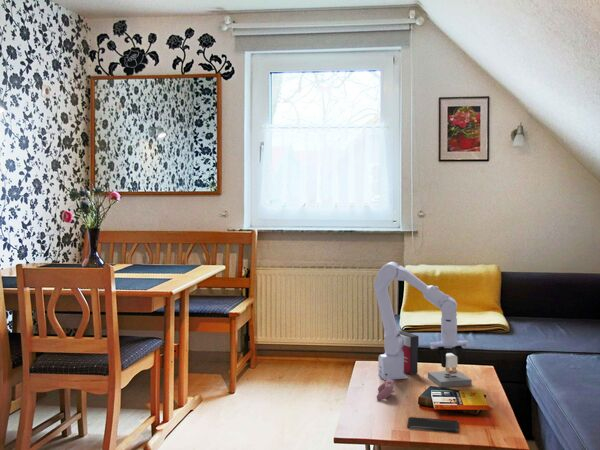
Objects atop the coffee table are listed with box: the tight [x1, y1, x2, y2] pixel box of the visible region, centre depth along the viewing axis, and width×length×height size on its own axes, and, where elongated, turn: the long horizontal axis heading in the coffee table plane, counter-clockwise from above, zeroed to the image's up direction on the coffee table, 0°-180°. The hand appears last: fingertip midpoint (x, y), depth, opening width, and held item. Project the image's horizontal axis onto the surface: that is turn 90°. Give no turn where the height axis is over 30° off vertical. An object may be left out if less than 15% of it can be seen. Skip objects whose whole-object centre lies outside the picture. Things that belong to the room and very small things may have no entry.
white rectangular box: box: [445, 352, 458, 372], centre depth 217 cm, size 4×5×6 cm
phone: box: [406, 416, 460, 434], centre depth 175 cm, size 8×1×15 cm
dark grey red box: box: [399, 330, 420, 376], centre depth 231 cm, size 11×4×15 cm, turn 25°
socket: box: [427, 368, 472, 388], centre depth 217 cm, size 12×12×3 cm
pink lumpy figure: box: [376, 379, 395, 401], centre depth 202 cm, size 10×5×7 cm, turn 169°
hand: (449, 366), depth 217 cm, fingers closed on white rectangular box, 4 cm apart
